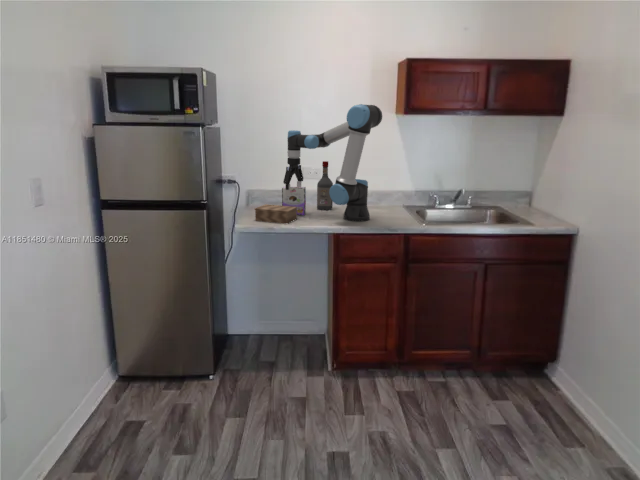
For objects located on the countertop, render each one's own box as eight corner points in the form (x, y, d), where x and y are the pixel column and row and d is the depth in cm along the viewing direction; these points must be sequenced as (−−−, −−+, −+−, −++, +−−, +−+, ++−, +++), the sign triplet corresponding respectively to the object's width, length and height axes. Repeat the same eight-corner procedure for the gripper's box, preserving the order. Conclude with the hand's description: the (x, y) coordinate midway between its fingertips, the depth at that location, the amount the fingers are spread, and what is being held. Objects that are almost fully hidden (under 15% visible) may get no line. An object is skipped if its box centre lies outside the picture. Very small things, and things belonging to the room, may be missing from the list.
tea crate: (297, 219, 277) (297, 206, 276) (287, 224, 265) (287, 211, 263) (265, 216, 284) (265, 204, 282) (254, 221, 271) (254, 208, 269)
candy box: (306, 213, 293) (306, 186, 288) (304, 215, 287) (304, 188, 283) (283, 213, 294) (283, 186, 290) (281, 214, 288) (281, 187, 284)
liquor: (330, 210, 302) (331, 162, 295) (316, 210, 304) (316, 162, 296) (332, 208, 311) (333, 161, 304) (318, 207, 313) (319, 160, 305)
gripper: (298, 155, 294) (298, 190, 300) (277, 158, 273) (277, 195, 278) (309, 156, 291) (308, 191, 297) (288, 159, 270) (288, 197, 275)
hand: (293, 193), depth 287 cm, fingers open, 13 cm apart
